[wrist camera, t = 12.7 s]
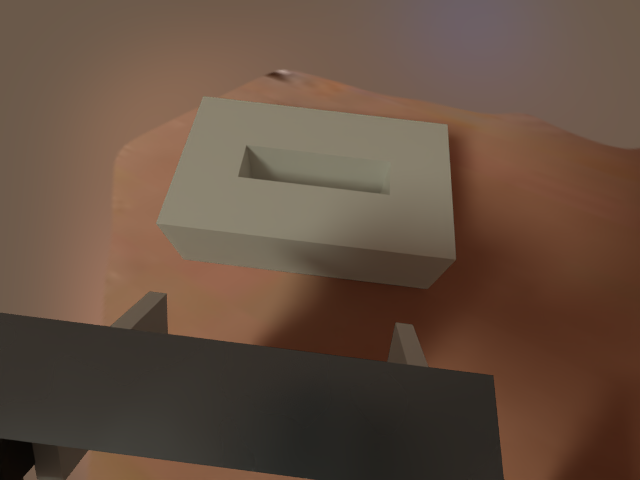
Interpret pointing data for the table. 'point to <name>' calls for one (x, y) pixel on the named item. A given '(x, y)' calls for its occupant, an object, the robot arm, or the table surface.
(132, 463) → the table surface
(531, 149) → the table surface
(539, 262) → the table surface
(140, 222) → the table surface
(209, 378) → the cover plate
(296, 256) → the slotted box
